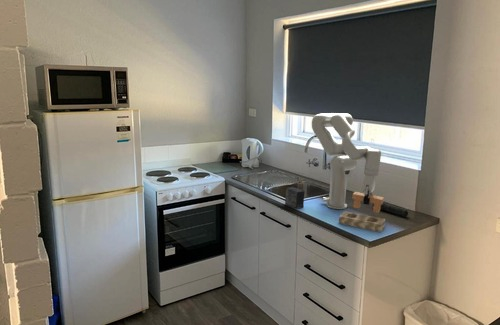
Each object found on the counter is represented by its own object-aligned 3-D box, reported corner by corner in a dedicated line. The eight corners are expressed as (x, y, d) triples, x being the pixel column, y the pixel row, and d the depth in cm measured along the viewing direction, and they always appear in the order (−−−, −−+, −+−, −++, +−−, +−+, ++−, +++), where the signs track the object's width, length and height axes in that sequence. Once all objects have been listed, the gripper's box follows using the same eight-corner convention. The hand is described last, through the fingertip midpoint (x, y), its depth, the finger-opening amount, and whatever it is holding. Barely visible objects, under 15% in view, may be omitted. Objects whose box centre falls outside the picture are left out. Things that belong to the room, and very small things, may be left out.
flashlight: (376, 207, 237) (377, 199, 236) (408, 217, 221) (409, 208, 220) (371, 208, 234) (372, 200, 233) (403, 218, 218) (404, 210, 217)
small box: (304, 207, 232) (305, 190, 230) (296, 209, 228) (297, 192, 226) (292, 202, 240) (293, 186, 238) (284, 204, 237) (285, 187, 234)
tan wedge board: (351, 207, 218) (352, 193, 217) (353, 204, 223) (355, 191, 221) (380, 213, 211) (381, 199, 209) (381, 210, 215) (383, 197, 213)
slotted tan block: (338, 223, 207) (339, 216, 206) (344, 217, 215) (344, 211, 215) (380, 232, 196) (381, 224, 195) (384, 226, 205) (385, 219, 204)
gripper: (368, 167, 220) (364, 197, 225) (360, 173, 206) (356, 205, 210) (381, 169, 217) (377, 200, 221) (374, 176, 202) (370, 208, 207)
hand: (367, 202), depth 216 cm, fingers closed on tan wedge board, 5 cm apart
